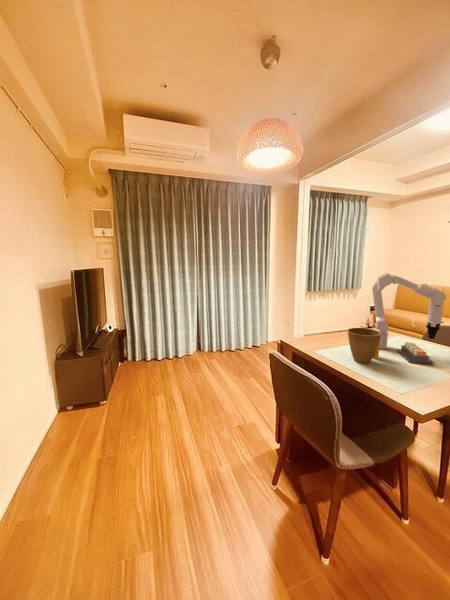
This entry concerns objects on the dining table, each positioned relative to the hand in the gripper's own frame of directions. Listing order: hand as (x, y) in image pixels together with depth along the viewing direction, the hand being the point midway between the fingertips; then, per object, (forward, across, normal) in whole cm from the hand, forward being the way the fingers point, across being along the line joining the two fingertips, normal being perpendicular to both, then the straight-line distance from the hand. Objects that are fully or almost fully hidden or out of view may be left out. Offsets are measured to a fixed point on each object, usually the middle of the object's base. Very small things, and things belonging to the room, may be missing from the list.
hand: (431, 336), depth 134 cm
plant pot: (+10, -35, +26) cm, 45 cm away
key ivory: (+7, -7, +8) cm, 13 cm away
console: (+10, -12, +6) cm, 17 cm away
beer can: (+10, -24, +23) cm, 35 cm away
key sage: (+7, -12, +6) cm, 15 cm away
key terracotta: (+7, -17, +4) cm, 18 cm away
